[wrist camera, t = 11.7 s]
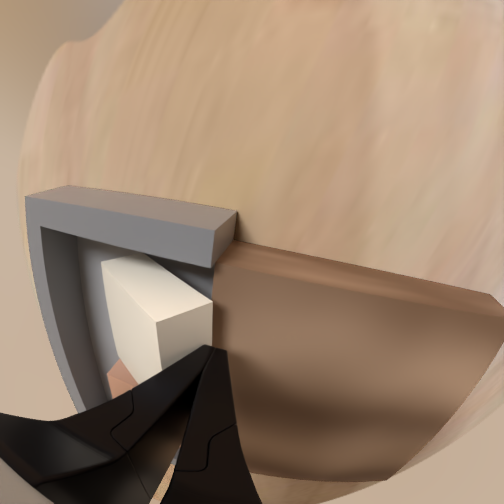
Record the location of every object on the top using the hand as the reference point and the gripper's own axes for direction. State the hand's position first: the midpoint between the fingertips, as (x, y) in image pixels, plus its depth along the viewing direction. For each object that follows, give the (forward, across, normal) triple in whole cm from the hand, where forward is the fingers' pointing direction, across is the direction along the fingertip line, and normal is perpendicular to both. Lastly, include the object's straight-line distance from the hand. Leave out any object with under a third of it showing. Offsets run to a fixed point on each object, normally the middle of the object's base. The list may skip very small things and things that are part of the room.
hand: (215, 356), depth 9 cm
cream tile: (+2, +2, +1) cm, 3 cm away
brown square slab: (+4, -6, +4) cm, 8 cm away
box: (+4, +5, +4) cm, 7 cm away
